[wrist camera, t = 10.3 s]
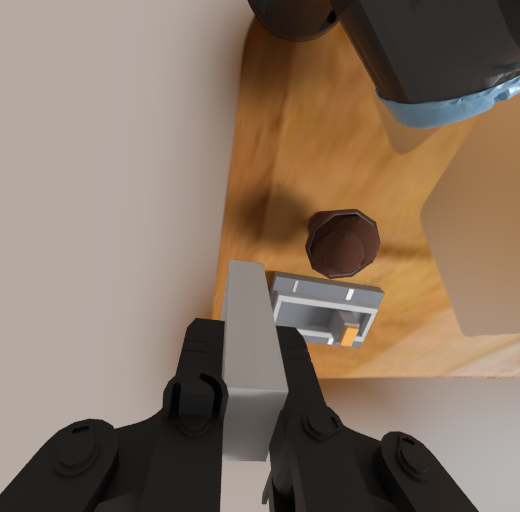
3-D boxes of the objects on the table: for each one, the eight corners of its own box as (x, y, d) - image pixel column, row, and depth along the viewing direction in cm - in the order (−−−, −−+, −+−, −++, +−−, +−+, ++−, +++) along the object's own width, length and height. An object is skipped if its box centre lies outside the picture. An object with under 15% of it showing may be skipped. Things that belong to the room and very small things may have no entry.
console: (274, 271, 51) (277, 280, 48) (379, 287, 55) (388, 297, 52) (258, 330, 57) (260, 341, 54) (355, 341, 60) (362, 353, 57)
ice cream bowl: (305, 262, 51) (330, 310, 37) (285, 208, 46) (307, 240, 33) (359, 241, 50) (405, 282, 37) (345, 184, 46) (392, 207, 32)
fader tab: (335, 306, 53) (346, 325, 48) (349, 308, 54) (362, 327, 49) (327, 326, 55) (337, 347, 50) (341, 328, 56) (352, 348, 51)
